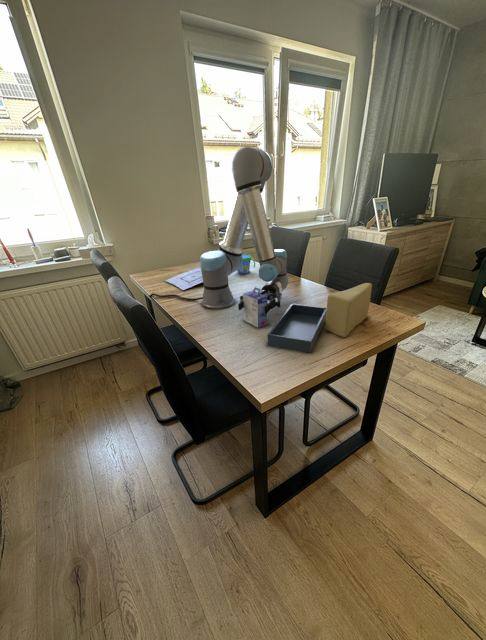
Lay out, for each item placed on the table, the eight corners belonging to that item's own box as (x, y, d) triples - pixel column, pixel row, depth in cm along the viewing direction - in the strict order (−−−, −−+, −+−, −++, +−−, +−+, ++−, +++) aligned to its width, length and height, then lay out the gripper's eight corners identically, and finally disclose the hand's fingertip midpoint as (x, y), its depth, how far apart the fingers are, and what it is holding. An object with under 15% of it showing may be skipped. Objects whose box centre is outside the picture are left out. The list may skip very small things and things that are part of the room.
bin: (267, 345, 100) (267, 334, 97) (291, 312, 123) (291, 303, 121) (310, 353, 95) (311, 341, 92) (326, 317, 118) (327, 307, 115)
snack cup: (257, 270, 180) (257, 254, 175) (252, 275, 172) (251, 258, 166) (235, 269, 184) (234, 253, 179) (229, 274, 176) (227, 257, 170)
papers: (228, 276, 167) (227, 270, 165) (184, 294, 153) (182, 288, 151) (207, 268, 183) (206, 263, 181) (166, 284, 169) (164, 279, 167)
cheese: (355, 313, 121) (360, 279, 113) (376, 320, 114) (383, 284, 106) (323, 329, 109) (327, 293, 101) (344, 338, 102) (350, 300, 94)
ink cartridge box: (268, 324, 114) (268, 290, 106) (258, 328, 111) (257, 294, 103) (254, 317, 121) (252, 284, 113) (243, 320, 118) (241, 287, 110)
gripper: (295, 300, 125) (280, 321, 108) (249, 295, 133) (227, 313, 115) (296, 284, 121) (280, 303, 104) (248, 279, 129) (225, 296, 111)
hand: (252, 308), depth 110 cm, fingers closed on ink cartridge box, 11 cm apart
